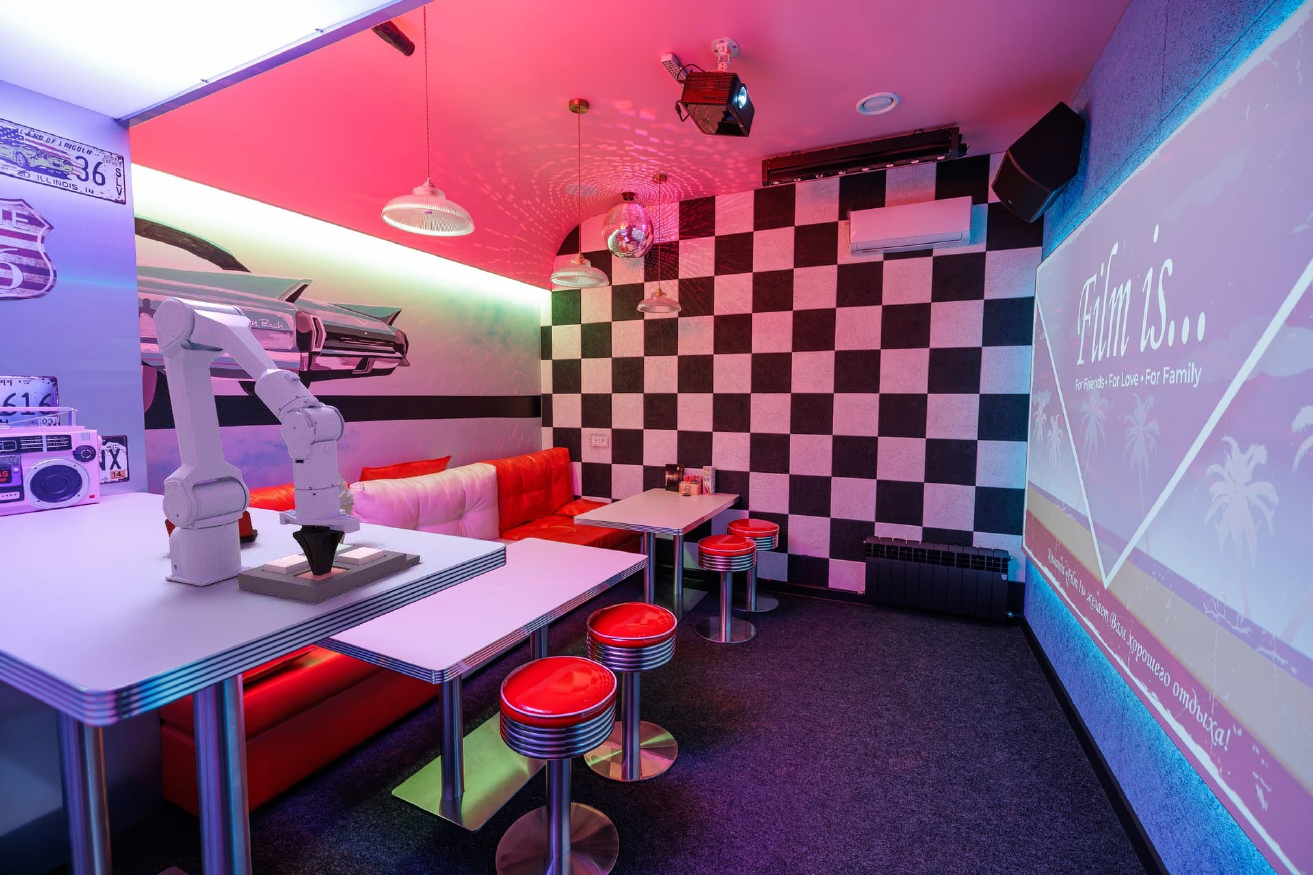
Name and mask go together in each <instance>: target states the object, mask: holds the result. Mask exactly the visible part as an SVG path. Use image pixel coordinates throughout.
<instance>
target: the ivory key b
mask: <svg viewBox="0 0 1313 875" xmlns="http://www.w3.org/2000/svg"><path fill="white" fill-rule="evenodd" d="M360 547H361V548H358V549H355V550H352V551H349V552H346V553H343V554H340V555H337V559H338V563H344V564H351V565H357V566H360V565H363V564H366V563H368V562H371V561H374V560H377V559H379V558H382V557H384V550H385V549H380V548H379V549H380V550H379V549H378V548H374V549H372V547H366V548H365V546H360Z"/></svg>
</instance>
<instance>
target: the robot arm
mask: <svg viewBox="0 0 1313 875" xmlns="http://www.w3.org/2000/svg"><path fill="white" fill-rule="evenodd" d="M152 318H153V325H154V329H155V335H156V341H157V342H156V343H157V346H158V352H159V353H160V354H161V355H162V356H163V363H164V368H165V373H166V374H165V375H166V380H167V386H168V392H169V397H170V404H171V410H172V415H173V421H174V428H175V433H176V438H177V443H178V444H177V445H178V451H179V456H180V462H181V466H179V467H178V468H177V469H176V470H175V471H174V472H172V473H171V474H170V475H169V476H167V478H165V479H164V480H163V486H164V495H163V499H162V512H163V513H164V516H165V518H166V519H168V520H169V521H170V522H171V523H173V524H174V525H175V527H176V528H175V529H174V530H173V531H172V533H171V535H170V538H169V539H168V543H169V554H170V555H169V556H170V567H171V569H170V570H171V574H170V573H169V574H166V575H165V579H166V580H170V581H174V582H175V581H176V582H179V583H184V584H190V585H194V586H198V587H199V586H200V587H204V586H207V585H211V584H215V583H217V582H221V581H223V580H228V579H231V578H234V577H238V574H237V573H239V572H242V571H246V570H249V569H252V568H255V567H254V566H248V565H244V564H242V554H241V543H240V539H239V526H238V519H239V518H242V512H244V511H245V510H246V511H247V509H248V508H249V504H250V501H251V494H250V490H249V488H248V486H247V484H246V483H245V481H244V478H243V472H242V470H241V469H240V468H238V467H237V466H235V465H233V464H231V463H229V462H228V461H226V460H225V454H224V449H223V448H224V447H223V443H222V436H221V430H220V425H219V418H218V413H217V412H218V411H217V407H216V400H215V395H214V394H215V393H214V388H213V382H212V375H211V370H210V365H211V364H212V363H213V361H215V360H216V359H217V358H221V357H222V356H224V355H225V354H227V355H228V356H230V358H232V359H233V361H235V362H236V363H237V365H239V366H240V367H241V368H242V370H244V371H245V372H246V373H247V374H248V375H249V376H250V377H251V378H252V379H253V380H254V381H256V382H255V384H254V393H255V394H256V395H257V397H258V398H259V399H260V400H261V401H262V402H263V404H264V405H265V406H266V407H267V408H268V409H269V410H270V412H272V414H273V415H274V416H275V417H276V419H278V421H279V422H280V423H281V426H280V427H278V428H279V432H280V433H279V434H280V436H281V438H282V440H283V441H284V443H285V444H286V446H287V454H288V456H289V457H290V459H292V472H293V486H294V487H293V489H294V491H293V492H294V504H295V507H294V509H288V510H284V511H280V512H279V525H282V526H285V525H286V526H287V525H295V526H301V528H300V530H296V531H293V532H292V538H293V539H294V540H295V541H296V542H297V543H298V545H299V546H300V548H301V550H302V551H303V553H305V555H306V558H307V560H308V563H309V566H310V568H311V571H312V573H313V575H317V576H321V575H323V574H326V573H329V572H331V569H332V565H333V561H334V556H335V553H336V550H337V547H338V544H339V542H340V540H341V538H342V536H343V535H344V533H346V534H351V533H355V532H358V531H361V522H360V517H357V516H352V515H351V514H350V515H348V514H346V510H343V509H340V498H339V479H338V470H339V466H338V463H339V462H338V445H337V442H338V441H340V440H341V439H342V438H343V436H344V434H345V430H346V424H345V420H344V417H343V415H342V414H341V413H340V411H339V408H337V407H335V406H332V405H326V404H325V403H324V402H321V401H319V399H318V398H317V397H316V396H314V395H313V394H312V392H310V390H308V388H307V387H306V386H305V385H304V384H303V383H302V381H301V377H300V376H299V375H298V374H297V373H296V372H293V371H291V370H288V369H279V368H278V366H277V365H276V363H275V362H274V360H273V359H272V358H271V356H270V355H269V354H268V352H267V351H266V350H265V349H264V347H263V346H262V345H261V343H260V342H259V341H258V339H257V338H256V336H254V334H253V332H252V320H250V319H249V317H247V316H246V314H245V313H244V311H243V310H242V309H241V308H239V307H238V306H235V305H223V304H217V303H216V304H215V303H208V302H202V301H195V300H188V299H183V298H180V297H175V296H171V297H168V298H166V299H164V300H163V301H162V302H161V303H160V305H159V306H158V308H157V309H156V311H155V312H154V313H153V315H152ZM213 479H214V480H215V481H214V480H213ZM209 480H213V481H209ZM202 481H208V482H202ZM198 482H201V483H198Z"/></svg>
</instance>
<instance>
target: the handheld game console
mask: <svg viewBox="0 0 1313 875" xmlns="http://www.w3.org/2000/svg"><path fill="white" fill-rule="evenodd" d="M251 517H252V516H251V514H250V511H248V510H247V509H246V510H245V511H244V512H242V518H239V519H238V526H239V539H240V544H244V543H251V542H254V541H255V539H256V537H257V535H258V533H259V532H258V530H257V529H254V528H253V522H252V518H251ZM164 524H165V528H166V532H167V535H168V537H169V538H170V535H171V533H172V531H173V530H174V529H175V528H176V527H175V525H174V524H173V523H171V522H170V521H169V520H168V519H167V518H166V519H165V520H164Z"/></svg>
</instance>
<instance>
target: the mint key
mask: <svg viewBox="0 0 1313 875" xmlns="http://www.w3.org/2000/svg"><path fill="white" fill-rule="evenodd" d="M353 546H354V545H352V546H351V544H345V545H344V543H343V544H338V547H337V550H336V553H335V556H334V558H337V555H340V554H343V553H346V552H349V551H352V550H353Z"/></svg>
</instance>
